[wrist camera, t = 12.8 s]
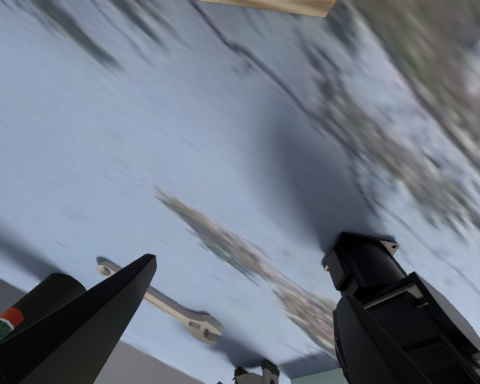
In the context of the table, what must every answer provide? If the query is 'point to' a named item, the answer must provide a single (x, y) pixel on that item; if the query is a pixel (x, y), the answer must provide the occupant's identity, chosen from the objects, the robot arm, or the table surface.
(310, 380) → the right angle wall
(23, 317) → the wine bottle
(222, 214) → the table surface
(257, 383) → the figurine
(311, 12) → the bore block
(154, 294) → the adjustable wrench
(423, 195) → the table surface
